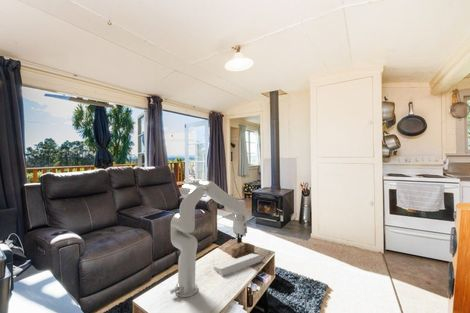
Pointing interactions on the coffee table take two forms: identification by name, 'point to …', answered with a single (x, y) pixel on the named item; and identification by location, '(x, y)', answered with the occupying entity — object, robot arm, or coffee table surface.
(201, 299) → the coffee table surface
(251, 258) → the decorative molding
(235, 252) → the wooden corner bracket
